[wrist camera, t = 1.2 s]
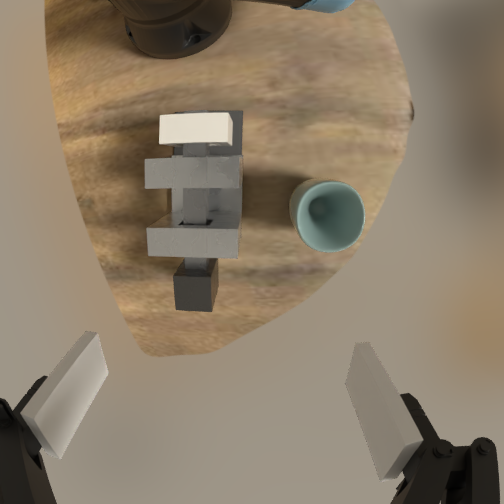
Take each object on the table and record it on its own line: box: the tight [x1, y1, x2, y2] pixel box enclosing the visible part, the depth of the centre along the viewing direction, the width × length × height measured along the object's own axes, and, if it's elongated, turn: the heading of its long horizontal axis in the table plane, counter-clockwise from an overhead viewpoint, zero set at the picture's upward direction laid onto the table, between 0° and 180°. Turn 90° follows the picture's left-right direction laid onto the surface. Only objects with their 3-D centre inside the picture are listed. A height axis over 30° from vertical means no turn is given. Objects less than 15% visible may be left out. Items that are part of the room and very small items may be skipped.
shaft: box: [173, 110, 218, 312], centre depth 32 cm, size 21×4×7 cm, turn 178°
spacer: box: [159, 113, 233, 147], centre depth 30 cm, size 3×7×7 cm, turn 88°
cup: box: [289, 178, 365, 252], centre depth 35 cm, size 8×8×10 cm
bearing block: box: [145, 155, 243, 259], centre depth 34 cm, size 11×9×11 cm
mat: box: [174, 111, 243, 156], centre depth 37 cm, size 6×9×1 cm, turn 89°
